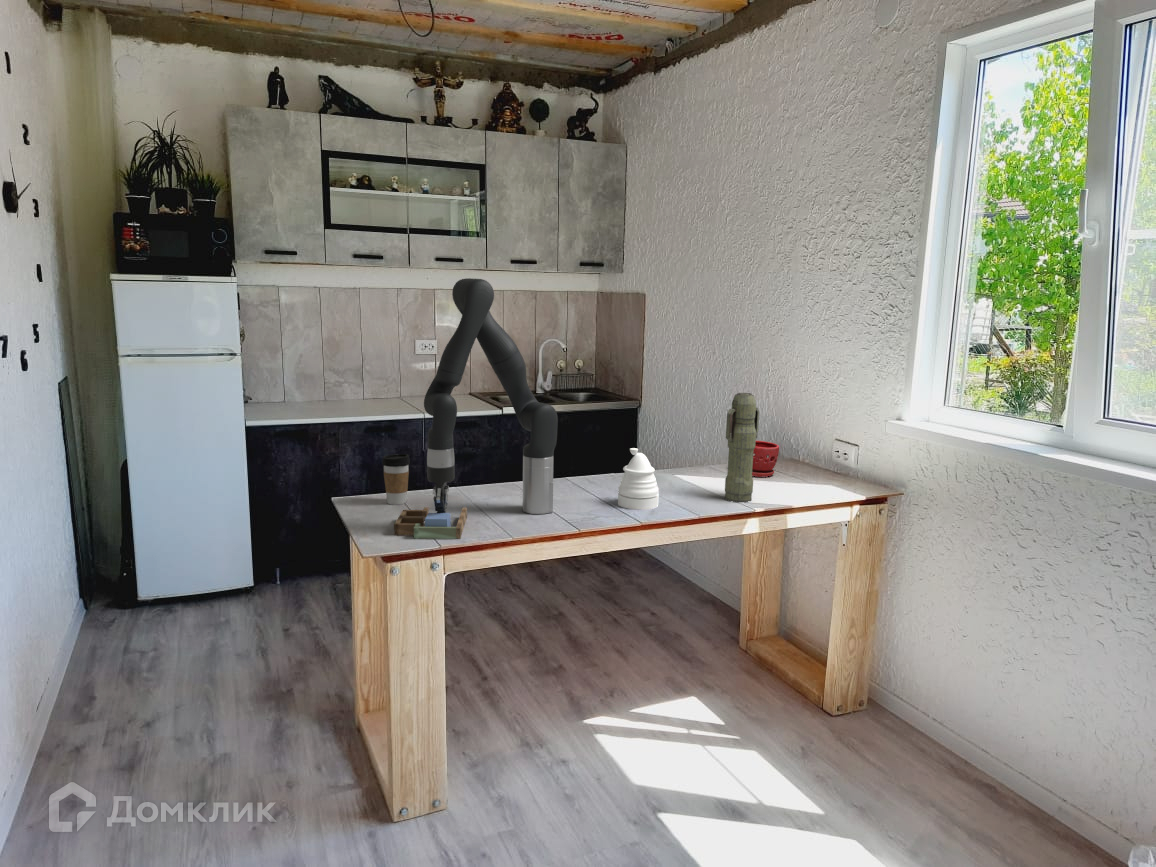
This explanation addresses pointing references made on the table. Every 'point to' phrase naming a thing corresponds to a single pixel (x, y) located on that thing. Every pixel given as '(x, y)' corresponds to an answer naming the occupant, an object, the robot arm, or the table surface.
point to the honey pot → (638, 484)
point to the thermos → (741, 447)
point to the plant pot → (764, 458)
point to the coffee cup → (396, 477)
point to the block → (438, 520)
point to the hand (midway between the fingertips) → (441, 523)
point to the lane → (414, 525)
